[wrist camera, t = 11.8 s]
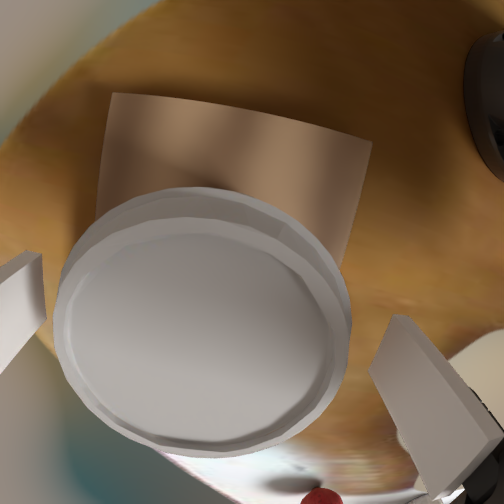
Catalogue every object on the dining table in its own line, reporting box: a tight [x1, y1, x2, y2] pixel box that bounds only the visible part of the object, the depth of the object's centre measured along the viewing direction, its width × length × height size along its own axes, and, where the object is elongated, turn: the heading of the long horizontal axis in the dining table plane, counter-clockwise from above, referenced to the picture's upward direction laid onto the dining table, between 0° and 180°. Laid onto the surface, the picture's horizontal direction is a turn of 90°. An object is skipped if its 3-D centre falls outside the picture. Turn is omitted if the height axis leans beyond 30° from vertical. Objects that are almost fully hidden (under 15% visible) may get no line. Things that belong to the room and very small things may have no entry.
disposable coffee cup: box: [53, 187, 352, 458], centre depth 14 cm, size 10×10×12 cm
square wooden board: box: [95, 92, 373, 270], centre depth 21 cm, size 16×16×3 cm
